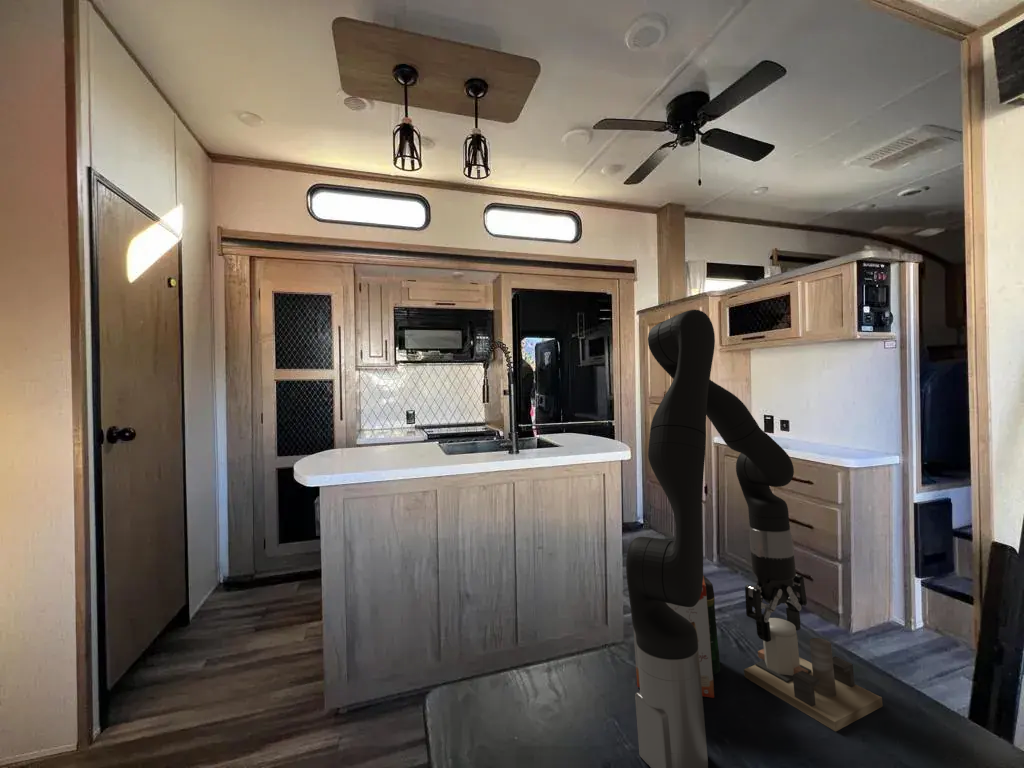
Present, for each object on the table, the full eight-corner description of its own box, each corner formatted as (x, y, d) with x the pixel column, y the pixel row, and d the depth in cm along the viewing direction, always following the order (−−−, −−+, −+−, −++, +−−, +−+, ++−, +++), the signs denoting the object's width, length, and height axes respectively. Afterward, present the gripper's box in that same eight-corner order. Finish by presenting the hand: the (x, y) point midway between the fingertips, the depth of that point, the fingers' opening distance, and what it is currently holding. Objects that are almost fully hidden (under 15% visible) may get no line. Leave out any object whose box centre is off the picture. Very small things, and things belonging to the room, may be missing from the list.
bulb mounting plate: (835, 731, 72) (829, 667, 73) (744, 677, 88) (739, 625, 89) (882, 706, 78) (876, 646, 78) (788, 659, 93) (784, 609, 94)
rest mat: (787, 683, 83) (786, 680, 83) (755, 665, 89) (755, 663, 89) (811, 672, 86) (811, 670, 86) (779, 655, 92) (779, 653, 92)
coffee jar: (726, 678, 88) (718, 582, 89) (685, 679, 89) (677, 583, 90) (709, 651, 98) (701, 565, 99) (672, 652, 98) (665, 566, 99)
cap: (751, 660, 90) (747, 619, 91) (769, 651, 93) (766, 612, 93) (796, 683, 82) (792, 638, 83) (815, 673, 85) (810, 630, 85)
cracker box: (637, 689, 86) (628, 579, 88) (638, 671, 92) (630, 568, 93) (716, 700, 82) (706, 583, 83) (712, 681, 87) (703, 572, 89)
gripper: (778, 539, 95) (785, 618, 94) (729, 551, 90) (737, 635, 89) (813, 548, 88) (822, 633, 87) (763, 562, 83) (772, 653, 82)
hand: (779, 634), depth 88 cm, fingers open, 8 cm apart
